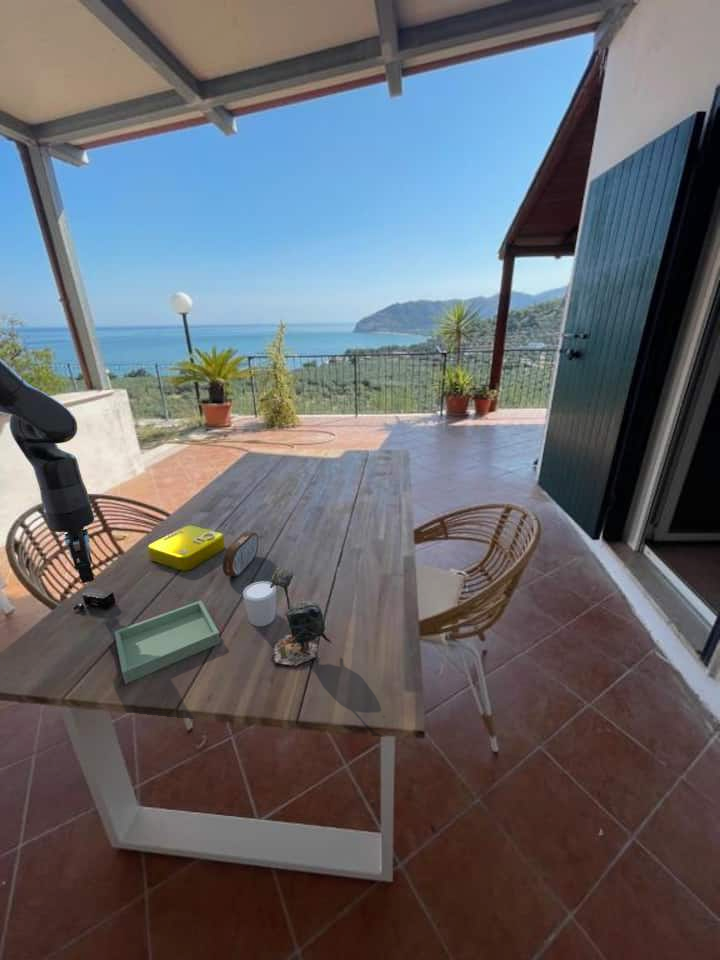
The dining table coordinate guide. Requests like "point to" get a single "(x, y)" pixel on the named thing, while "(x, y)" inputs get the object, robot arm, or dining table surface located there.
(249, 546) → the brown digital clock
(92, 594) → the wireless earbuds
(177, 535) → the element tile
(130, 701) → the dining table surface
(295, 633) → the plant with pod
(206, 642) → the pale tray
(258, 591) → the white cylinder
